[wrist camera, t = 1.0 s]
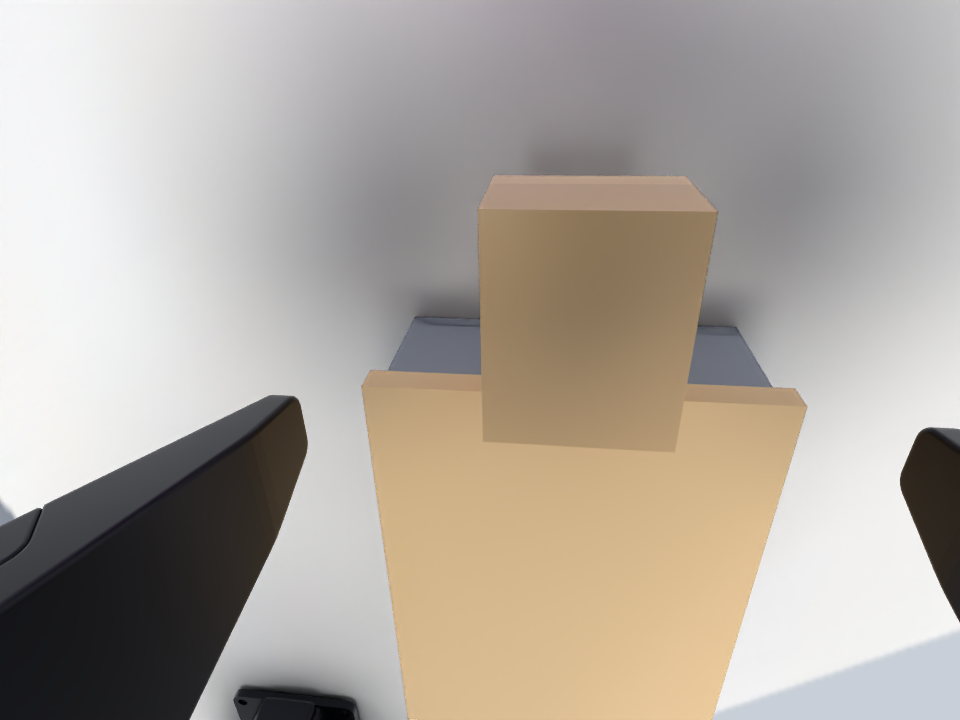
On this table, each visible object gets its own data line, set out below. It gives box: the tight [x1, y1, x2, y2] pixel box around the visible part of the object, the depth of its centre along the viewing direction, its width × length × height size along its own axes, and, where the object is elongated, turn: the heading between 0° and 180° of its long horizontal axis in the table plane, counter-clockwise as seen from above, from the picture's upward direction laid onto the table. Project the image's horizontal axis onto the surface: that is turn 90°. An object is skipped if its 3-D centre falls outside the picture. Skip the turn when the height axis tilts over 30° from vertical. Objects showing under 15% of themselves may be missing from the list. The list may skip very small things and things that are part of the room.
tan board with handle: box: [361, 175, 807, 720], centre depth 16 cm, size 20×11×3 cm, turn 1°
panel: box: [388, 317, 773, 388], centre depth 20 cm, size 14×10×4 cm
